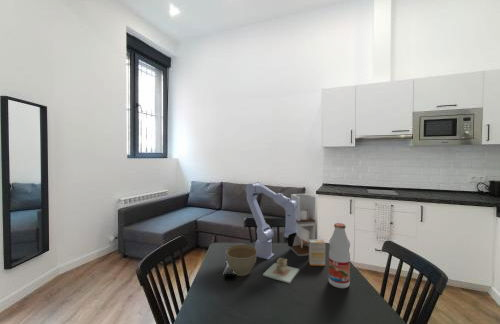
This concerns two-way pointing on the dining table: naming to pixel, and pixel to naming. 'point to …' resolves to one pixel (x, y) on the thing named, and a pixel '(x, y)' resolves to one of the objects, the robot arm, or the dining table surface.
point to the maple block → (281, 265)
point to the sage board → (285, 277)
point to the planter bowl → (241, 259)
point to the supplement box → (316, 252)
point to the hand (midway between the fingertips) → (290, 246)
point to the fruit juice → (339, 257)
